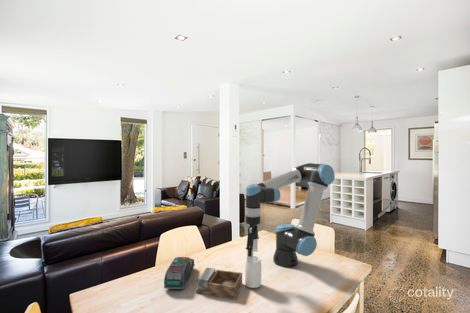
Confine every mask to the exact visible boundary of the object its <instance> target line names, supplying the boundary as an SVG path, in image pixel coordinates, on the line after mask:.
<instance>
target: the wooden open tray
mask: <svg viewBox="0 0 470 313" xmlns="http://www.w3.org/2000/svg"><path fill="white" fill-rule="evenodd" d="M242 285H243V272H237V271H230V270H229V271H228V270H223V269H222V270H221V269H216V268H214V267H206V268H205V269H204V270H203V272H202V273H201V274H200V275H199V277H198V279H197V288H196V290H195V293H196V294H200V295H207V296H213V297H214V296H215V297H220V298H226V299H232V300H236V299H237V297H238V294H239V292H240V290H241V288H242Z"/></svg>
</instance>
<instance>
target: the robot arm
mask: <svg viewBox="0 0 470 313" xmlns="http://www.w3.org/2000/svg"><path fill="white" fill-rule="evenodd" d="M301 182H307V185H308V189H307V192H306V196H305V199H304V203H303V207H302V211H301V214H300V217H299V220H298V224H297V225H295V224H292V223H291V224H290V223H285V224H284V223H283V224H278V225H277V226H276V228H275V240H276V241H275V251H274V253H273V263H274V264H276V265H277V266H280V267H284V268H292V267H296V266H297V265H298V264H299V258H298V256H297V254H298V255H301V256H303V257H308V256H310V255H312V254H313V253H314V252H315V251H316V249H317V245H318V242H317V239H316V238H315V231H314V228H315V224H316V219H317V217H318V213H319V209H320V205H321V202H322V199H323V194H324V191H325V190H327V189H328V186H329V185H331V184H332V183H334V182H335V171H334V168H333V167H332V166H331V165H329V164H326V163H312V162H311V163H310V162H309V163H304V164H301V165H298V166H296V167H293V168H291V170H290V171H287V172H285V173H283V174H280V175H277V176H275V177H272V178H269V179H267V180H265V181H262V182H259V183H256V184H254V183H253V184H249V185H246V188H245V208H244V210H245V223H246V224H247V225H249V226H248V228H247V241H246V247H245V250H246V252H247V253H246V254H247V255H246V257H247V262H249V263H253V256H254V252H258V240H259V239H260V236H259V230H258V225H260V224H261V204H265V203H266V204H267V203H276V202H278V201H280V199H281V191H280V190H281V189H283V188H284V187H287V186H290V185H292V184H294V183H297V184H298V183H301Z"/></svg>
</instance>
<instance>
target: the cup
mask: <svg viewBox="0 0 470 313" xmlns="http://www.w3.org/2000/svg"><path fill="white" fill-rule="evenodd" d="M244 278H245V279H244V282H245V285H246V286H247V287H248V288H251V289H256V288H259V287H260V286H262V260H261V257H260V256H257V255H253V263H249V262H247V256H246V257H245V260H244Z"/></svg>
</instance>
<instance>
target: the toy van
mask: <svg viewBox="0 0 470 313" xmlns="http://www.w3.org/2000/svg"><path fill="white" fill-rule="evenodd" d="M195 266H196V265H195V259H194V258H191V257H189V256H178V257H174V259H173V260H172V262H171V263H170V265H169V266H168V267H167V269H166V272H165V275H164V279H163V283H164V284H163V289H164V290H165V289H166V290H167V289H169V290H184V289H185V288H186V287H187V285H188V284H187V282H188V280H189V278H190V276H191V273H193V272H194V269H195Z"/></svg>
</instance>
